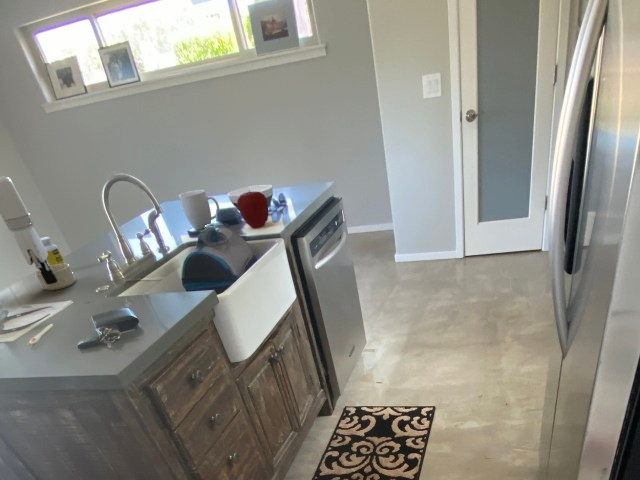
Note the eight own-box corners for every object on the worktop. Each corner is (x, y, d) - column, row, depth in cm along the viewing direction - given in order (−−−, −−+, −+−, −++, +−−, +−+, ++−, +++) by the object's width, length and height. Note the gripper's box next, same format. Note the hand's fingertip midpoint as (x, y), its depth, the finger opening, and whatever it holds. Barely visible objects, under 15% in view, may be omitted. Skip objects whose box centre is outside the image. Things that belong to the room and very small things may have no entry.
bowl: (265, 219, 220) (258, 194, 214) (226, 221, 226) (219, 197, 220) (285, 207, 233) (279, 183, 227) (248, 210, 239) (241, 186, 233)
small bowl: (41, 293, 178) (32, 277, 174) (46, 284, 186) (37, 268, 182) (74, 286, 180) (66, 269, 176) (78, 277, 188) (70, 261, 184)
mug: (220, 220, 230) (210, 186, 222) (226, 224, 223) (216, 189, 214) (187, 228, 226) (175, 194, 217) (193, 232, 218) (181, 197, 210)
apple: (277, 221, 214) (268, 184, 205) (265, 230, 206) (256, 191, 197) (251, 223, 218) (241, 187, 209) (239, 231, 209) (228, 194, 201)
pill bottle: (60, 274, 194) (43, 240, 186) (47, 275, 195) (29, 242, 188) (72, 268, 198) (55, 235, 191) (58, 269, 200) (41, 236, 192)
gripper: (13, 221, 168) (45, 279, 180) (1, 231, 157) (36, 292, 169) (37, 216, 169) (67, 274, 181) (27, 225, 158) (60, 286, 170)
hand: (52, 282), depth 175 cm, fingers closed
